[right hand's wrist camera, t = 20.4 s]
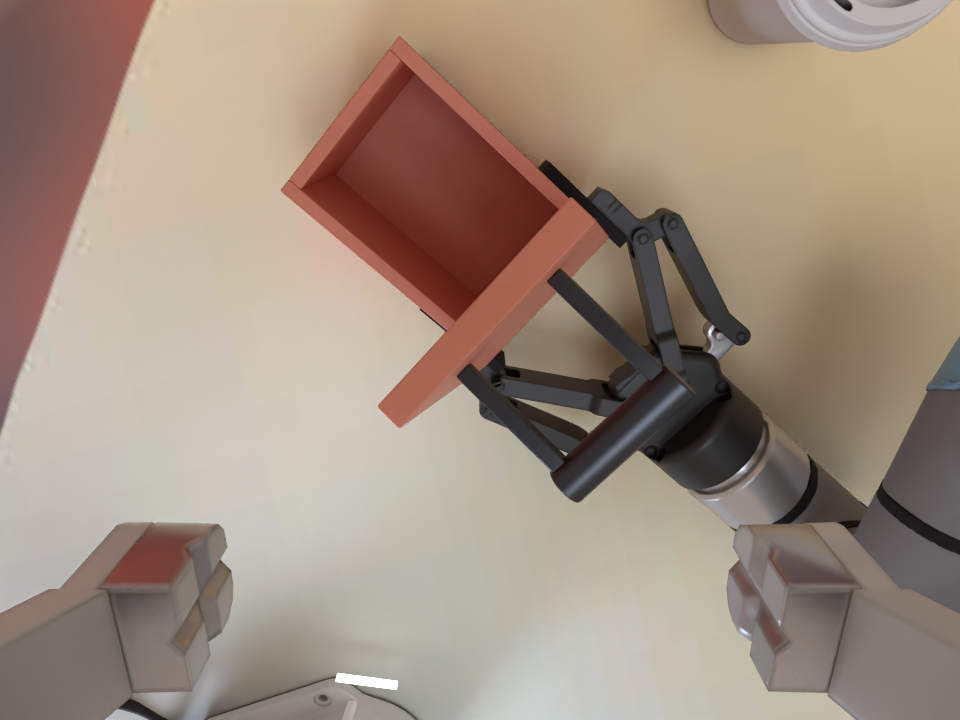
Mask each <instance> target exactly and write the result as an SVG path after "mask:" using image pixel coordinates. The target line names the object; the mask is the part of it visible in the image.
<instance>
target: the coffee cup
mask: <svg viewBox="0 0 960 720" xmlns="http://www.w3.org/2000/svg"><path fill="white" fill-rule="evenodd" d="M951 1H952V0H708V4H709V9H710V13H711V16H712V18H713V20H714V22H715V24H716V25H717V27H718V28H719V29H720V30H721V31H722V32H723V33H724V34H725V35H726V36H727V37H729V38H731V39H732V40H734V41H737V42H740V43H744V44H774V43H801V42H816V43H818V44H820V45H822V46H825V47H828V48H831V49H835V50H840V51H851V52H856V51H868V50H874V49H878V48H882V47H885V46H888V45H891V44H893V43H896V42H898V41H900V40H902V39H904V38H906V37H908V36H909V35H911V34H913V33H914V32H916V31H917V30H919V29H920V28H922V27H923V26H925V25H926V24H927V23H929V22H930V21H931V20H933V19H934V18H935V17H936V16H937V15H939V14H940V13H941V12H942V11H943V10H944V9H945V8H946V7H947V6H948V5H949V4H950V2H951Z"/></svg>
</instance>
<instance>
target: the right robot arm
mask: <svg viewBox="0 0 960 720" xmlns="http://www.w3.org/2000/svg"><path fill="white" fill-rule="evenodd" d="M226 548H227V543H226V538H225V533H224V529H223V528H222V527H221V526H220V525H219V524H198V523H152V522H142V523H123V524H119V525H117V526H116V527H115V528H114V529H113V530H112V531H111V532H110V533H109V535H108V536H107V537H106V538H105V539H104V540H103V541H102V542H101V543H100V545H99V546H98V547H97V548H96V549H95V550H94V551H93V552H92V553H91V555H90V556H89V557H88V558H87V559H86V560H85V561H84V562H83V563H82V565H81V566H80V567H79V568H78V569H77V570H76V571H75V572H74V573H73V575H72V576H71V577H70V578H69V579H68V580H67V581H66V582H65V584H64V585H63V586H62V587H61V588H60V589H49V590H47V591H45V592H43V593H41V594H39V595H37V596H35V597H33V598H31V599H29V600H27V601H25V602H23V603H21V604H18V605H16V606H14V607H12V608H10V609H8V610H6V611H4V612H2V613H0V720H105V719H106V718H107V717H108V716H109V715H111V714H112V713H113V712H114V711H115V710H116V709H121V710H125V711H128V712H132V713H135V714H137V715H140V716H142V717H144V718H147V719H148V720H167V719H165V718H163V717H161V716H160V715H158V714H156V713H155V712H153V711H151V710H150V709H148V708H146V707H145V706H143V705H141V704H140V703H138V702H135V701H132V700H129V699H130V698H131V697H132V693H145V692H180V691H192V690H193V688H194V686H195V684H196V682H197V680H198V678H199V676H200V674H201V672H202V671H203V669H204V667H205V665H206V663H207V661H208V659H209V657H210V650H209V645H208V642H209V641H210V640H212V639H213V638H215V637H216V636H217V635H219V634H220V633H222V631H223V629H224V627H225V624H226V622H227V620H228V618H229V614H230V609H231V605H232V600H233V580H232V573H231V570H230V569H229V568H228V567H227V566H226V565H225V564H224V563H223V562H222V561H221V560H220V559H221V557H222V555H223V554H224V552H225V550H226ZM733 548H734V550H735V552H736V554H737V555H738V557H739V559H740V560H739V561H738V562H737V563H736V564H735V565H734V566H733V567H732V568H731V569H730V570H729V574H728V582H727V597H728V607H729V610H730V614H731V617H732V620H733V622H734V624H735V627H736V629H737V631H738V633H740V634H741V635H743V636H744V637H745V638H747V639H748V640H750V641H751V642H752V645H751V650H750V657H751V659H752V661H753V663H754V665H755V667H756V669H757V670H758V672H759V674H760V676H761V678H762V680H763V682H764V684H765V686H766V688H767V690H768V691H779V692H814V693H828V695H827V696H828V697H830V698H831V699H832V700H833V701H834V702H835V703H837V704H838V705H839V706H840V707H841V708H843V709H844V710H845V711H846V712H847V713H849V714H850V715H851V716H852V717H853V718H855V719H856V720H960V614H959V613H957V612H955V611H953V610H951V609H949V608H947V607H945V606H943V605H941V604H939V603H937V602H935V601H933V600H931V599H929V598H927V597H925V596H923V595H921V594H919V593H917V592H915V591H913V590H911V589H900V588H899V587H898V586H897V585H896V584H895V582H894V581H893V580H892V579H891V578H890V577H889V576H888V575H887V574H886V572H885V571H884V570H883V569H882V568H881V567H880V566H879V565H878V563H877V562H876V561H875V560H874V559H873V558H872V557H871V556H870V555H869V553H868V552H867V551H866V550H865V549H864V548H863V547H862V546H861V545H860V543H859V542H858V541H857V540H856V539H855V538H854V537H853V536H852V535H851V533H850V532H849V531H848V530H847V529H846V528H845V527H844V526H843V525H841V524H839V523H836V522H822V523H803V524H757V525H739V526H738V529H737V531H736V533H735V537H734V543H733ZM351 684H357V685H364V686H372V687H379V688H387V689H395V690H397V684H398V681H394V680H386V679H379V678H371V677H363V676H356V675H348V674H341V673H337V677H336V678H331V679H327V680H324V681H321V682H318V683H315V684H312V685H309V686H306V687H303V688H300V689H297V690H294V691H291V692H288V693H284V694H281V695H278V696H275V697H272V698H269V699H266V700H263V701H260V702H257V703H254V704H251V705H248V706H245V707H242V708H239V709H236V710H233V711H229V712H226V713H223V714H220V715H217V716H214V717H211V718H209V719H207V720H415V719H414V718H413V717H412V716H411V715H410V714H408V713H407V712H405V711H404V710H402V709H401V708H399V707H397V706H395V705H393V704H391V703H389V702H386V701H383V700H380V699H377V698H374V697H370V696H368V695H365V694H363V693H361V692H360V691H359V690H357V689H356V688H355V687H353V686H352V685H351Z"/></svg>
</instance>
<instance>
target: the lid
mask: <svg viewBox="0 0 960 720" xmlns="http://www.w3.org/2000/svg"><path fill="white" fill-rule="evenodd" d="M608 238H609V236H608V235H607V234H606V233H605V231H604V230H603V229H602V227H601V226H600V225H599V224H598V222H597V221H596V220H595V219H594V218H593V217H592V216H591V215H590V214H589V213H588V212H587V211H586V210H585V209H584V208H583V207H582V206H581V205H579V204H578V203H577V202H576V201H575V200H574V199H573V198H569V199H568V200H567V201H566V202H565V203H564V204H563V205H562V207H561V208H560V209H559V210H558V211H557V212H556V213H555V214H554V215H553V216H552V217H551V219H550V220H549V221H548V222H547V223H546V224H545V225H544V226H543V227H542V228H541V229H540V230H539V232H538V233H537V234H536V235H535V236H534V237H533V238H532V239H531V240H530V241H529V242H528V243H527V245H526V246H525V247H524V248H523V249H522V250H521V251H520V252H519V253H518V254H517V255H516V256H515V258H514V259H513V260H512V261H511V262H510V263H509V264H508V265H507V266H506V267H505V268H504V269H503V271H502V272H501V273H500V274H499V275H498V276H497V277H496V278H495V279H494V280H493V281H492V283H491V284H490V285H489V286H488V287H487V288H486V289H485V290H484V291H483V292H482V293H481V294H480V296H479V297H478V298H477V299H476V300H475V301H474V302H473V303H472V304H471V305H470V306H469V307H468V309H467V310H466V311H465V312H464V313H463V314H462V315H461V316H460V317H459V318H458V319H457V320H456V322H455V323H454V324H453V325H452V326H451V327H450V328H449V329H448V330H447V331H446V332H445V333H444V335H443V336H442V337H441V338H440V339H439V340H438V341H437V342H436V343H435V344H434V345H433V346H432V348H431V349H430V350H429V351H428V352H427V353H426V354H425V355H424V356H423V357H422V358H421V360H420V361H419V362H418V363H417V364H416V365H415V366H414V367H413V368H412V369H411V370H410V371H409V373H408V374H407V375H406V376H405V377H404V378H403V379H402V380H401V381H400V382H399V383H398V384H397V386H396V387H395V388H394V389H393V390H392V391H391V392H390V393H389V394H388V395H387V396H386V397H385V399H384V400H383V401H382V402H381V403H380V404H379V405H378V408H379V409H380V410H381V411H382V412H383V413H384V414H385V415H386V416H387V417H388V418H389V419H390V420H391V421H392V422H393V423H394V424H395V425H396V426H397V427H398V428H401V427H403V426H404V425H405V424H407V423H408V422H409V421H411V420H412V419H414V418H415V417H416V416H418V415H419V414H420V413H422V412H423V411H425V410H426V409H427V408H429V407H430V406H431V405H433V404H434V403H436V402H437V401H438V400H440V399H441V398H442V397H444V396H445V395H447V394H448V393H449V392H451V391H452V390H453V389H455V388H456V387H458V386H459V385H460V384H462V383H463V384H464V385H465V386H466V387H467V388H468V389H469V390H470V391H471V392H472V393H473V394H474V395H475V396H476V397H477V398H478V399H479V400H480V401H481V402H482V403H483V404H484V405H485V406H486V407H487V408H488V409H489V410H490V411H491V412H492V413H493V414H494V415H495V416H496V417H497V418H498V419H499V420H500V421H501V422H502V423H503V424H504V425H505V426H506V427H507V428H508V429H509V430H510V431H511V432H512V433H513V434H514V435H515V436H516V437H517V438H518V439H519V440H520V441H521V442H522V443H523V444H524V445H525V446H526V447H527V448H528V449H529V450H530V451H531V452H532V453H533V454H534V455H535V456H536V457H537V458H538V459H539V460H540V461H541V462H542V463H543V464H544V465H545V466H546V467H547V468H548V469H550V470H551V471H550V475H551V478H552V480H553V482H554V483H555V485H556V486H557V487H558V489H559V490H560V491H561V492H562V493H563V494H564V495H565V496H566V497H568V498H569V499H570V500H572V501H574V502H577V503H578V502H581V501H582V500H583V499H584V498H585V497H586V496H587V495H588V494H590V493H591V492H592V491H593V490H594V489H595V488H596V487H597V486H598V485H599V484H601V483H602V482H603V481H604V480H605V479H606V478H607V477H608V476H609V475H610V474H612V473H613V472H614V471H615V470H616V469H617V468H618V467H619V466H620V465H621V464H623V463H624V462H625V461H626V460H627V459H628V458H629V457H630V456H631V455H632V454H634V453H635V452H636V451H637V450H638V449H639V448H640V447H641V446H642V445H643V444H645V443H646V442H647V441H648V440H649V439H650V438H651V437H652V436H653V435H654V434H656V433H657V432H658V431H659V430H660V429H661V428H662V427H663V426H664V425H665V424H667V423H668V422H669V421H670V420H671V419H672V418H673V417H674V416H675V415H676V414H678V413H679V412H680V411H681V410H682V409H683V408H684V407H685V406H686V405H687V404H689V403H690V402H691V401H692V400H693V399H694V398H695V397H696V393H695V392H694V390H693V389H692V388H691V387H690V386H689V385H688V384H687V383H686V382H685V381H684V380H683V379H682V378H681V377H680V376H679V375H678V374H677V373H676V372H675V371H674V370H673V369H672V368H671V367H669V366H668V365H666V364H663V365H661V364H660V363H659V362H658V361H657V360H656V359H655V358H654V357H653V356H652V355H650V354H649V353H648V352H647V351H646V350H645V349H644V348H643V347H642V346H641V345H640V344H639V343H638V342H637V341H636V340H635V339H634V338H633V337H632V336H631V335H630V334H629V333H628V332H627V331H626V330H625V329H624V328H623V327H621V326H620V325H619V324H618V323H617V322H616V321H615V320H614V319H613V318H612V317H611V316H610V315H609V314H608V313H607V312H606V311H605V310H604V309H603V308H602V307H601V306H600V305H599V304H598V303H597V302H596V301H595V300H593V299H592V298H591V297H590V296H589V295H588V294H587V293H586V292H585V291H584V290H583V289H582V288H581V287H580V286H579V285H578V284H577V283H576V282H575V281H574V280H573V279H572V278H571V277H572V276H573V275H574V274H575V273H576V272H577V271H578V270H579V269H580V268H581V266H582V265H583V264H584V263H585V262H586V261H587V260H588V259H589V258H590V257H591V256H592V255H593V254H594V253H595V252H596V251H597V250H598V249H599V248H600V247H601V246H602V245H603V244H604V243H605V242H606V240H607V239H608ZM556 292H558V293H559V294H560V295H561V296H562V297H563V298H564V299H565V300H566V301H567V302H568V303H569V304H570V305H571V306H572V307H573V308H574V309H575V310H576V311H577V312H578V313H579V314H580V315H581V316H582V317H583V318H584V319H585V320H586V321H587V322H588V323H590V324H591V325H592V326H593V327H594V328H595V329H596V330H597V331H598V332H599V333H600V334H601V335H602V336H603V337H604V338H605V339H606V340H607V341H608V342H609V343H610V344H611V345H612V346H613V347H614V348H615V349H616V350H617V351H618V352H619V353H621V354H622V355H623V356H624V357H625V358H626V359H627V360H628V361H629V362H630V363H631V364H632V365H633V366H634V367H635V368H636V369H637V370H638V371H639V372H640V373H641V374H642V375H643V376H644V377H645V378H646V379H647V380H646V381H645V382H644V383H643V384H642V385H641V386H640V387H639V388H637V389H636V390H635V391H634V392H633V393H632V394H631V395H630V396H629V397H628V398H627V399H626V400H625V401H624V402H623V403H622V404H620V405H619V406H618V407H617V408H616V409H615V410H614V411H613V412H612V413H611V414H610V415H609V416H608V417H607V418H606V419H605V420H603V421H602V422H601V423H600V424H599V425H598V426H597V427H596V428H595V429H594V430H593V431H592V432H591V433H590V434H589V435H588V436H587V437H585V438H584V439H583V440H582V441H581V442H580V443H579V444H578V445H577V446H576V447H575V448H574V449H573V450H572V451H571V452H570V453H568V454H567V455H566V456H565V455H564V454H563V453H562V452H561V451H560V450H559V449H558V448H557V447H556V446H555V445H554V444H553V443H552V442H551V441H550V440H549V439H548V438H547V437H546V436H545V435H544V434H542V433H541V432H540V431H539V430H538V429H537V428H536V427H535V426H534V425H533V424H532V423H531V422H530V421H529V420H528V419H527V418H526V417H525V416H524V415H523V414H522V413H521V412H520V411H519V410H518V409H517V408H516V407H515V406H514V405H513V404H512V403H511V402H510V401H509V400H508V399H507V398H506V397H505V396H504V395H503V394H502V393H501V392H500V391H499V390H498V389H497V388H496V387H495V386H494V385H493V384H492V383H491V382H490V381H489V380H488V379H487V378H486V377H485V376H484V375H483V374H482V373H481V372H480V370H481V369H482V368H484V367H485V366H486V365H487V364H488V363H489V362H490V361H491V360H492V359H493V358H494V357H495V356H496V355H497V354H498V353H499V352H500V351H501V350H502V349H503V348H504V346H505V345H506V344H507V343H508V342H509V341H510V340H511V339H512V338H513V337H514V336H515V335H516V334H517V333H518V332H519V331H520V330H521V329H522V328H523V327H524V326H525V325H526V324H527V323H528V322H529V321H530V319H531V318H532V317H533V316H534V315H535V314H536V313H537V312H538V311H539V310H540V309H541V308H542V307H543V306H544V305H545V304H546V303H547V302H548V301H549V300H550V299H551V298H552V297H553V296H554V295H555V293H556Z"/></svg>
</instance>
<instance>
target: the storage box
mask: <svg viewBox="0 0 960 720" xmlns="http://www.w3.org/2000/svg"><path fill="white" fill-rule="evenodd" d="M281 192H282V193H284V194H285V195H286V196H287V197H288V198H290V199H291V200H292V201H293V202H294V203H296V204H297V205H298V206H299V207H300V208H301V209H303V210H304V211H305V212H306V213H307V214H309V215H310V216H311V217H312V218H313V219H315V220H316V221H317V222H318V223H319V224H321V225H322V226H323V227H324V228H325V229H327V230H328V231H329V232H330V233H331V234H333V235H334V236H335V237H336V238H337V239H339V240H340V241H341V242H342V243H343V244H345V245H346V246H347V247H348V248H349V249H350V250H352V251H353V252H354V253H355V254H356V255H358V256H359V257H360V258H361V259H362V260H364V261H365V262H366V263H367V264H368V265H370V266H371V267H372V268H373V269H374V270H376V271H377V272H378V273H379V274H380V275H382V276H383V277H384V278H385V279H386V280H388V281H389V282H390V283H391V284H392V285H393V286H395V287H396V288H397V289H398V290H399V291H401V292H402V293H403V294H404V295H405V296H407V297H408V298H409V299H410V300H411V301H413V302H414V303H415V304H416V305H417V306H419V307H420V308H421V309H422V310H423V311H425V312H426V313H427V314H428V315H429V316H431V317H432V318H433V319H434V320H435V321H437V322H438V323H439V324H440V325H441V326H442V327H444V328H445V329H446V330H448V329H449V328H450V327H451V326H452V325H453V324H454V323H455V322H456V320H457V319H458V318H459V317H460V316H461V315H462V314H463V313H464V312H465V311H466V310H467V309H468V307H469V306H470V305H471V304H472V303H473V302H474V301H475V300H476V299H477V298H478V297H479V296H480V294H481V293H482V292H483V291H484V290H485V289H486V288H487V287H488V286H489V285H490V284H491V283H492V281H493V280H494V279H495V278H496V277H497V276H498V275H499V274H500V273H501V272H502V271H503V269H504V268H505V267H506V266H507V265H508V264H509V263H510V262H511V261H512V260H513V259H514V258H515V256H516V255H517V254H518V253H519V252H520V251H521V250H522V249H523V248H524V247H525V246H526V245H527V243H528V242H529V241H530V240H531V239H532V238H533V237H534V236H535V235H536V234H537V233H538V232H539V230H540V229H541V228H542V227H543V226H544V225H545V224H546V223H547V222H548V221H549V220H550V219H551V217H552V216H553V215H554V214H555V213H556V212H557V211H558V210H559V209H560V208H561V207H562V205H563V204H564V203H565V202H566V201H567V200H568V199H569V198H568V197H567V196H566V195H565V194H564V193H563V192H562V191H561V190H560V189H559V188H557V187H556V186H555V185H554V184H553V183H552V182H551V181H550V180H549V179H548V178H547V177H546V176H545V175H544V174H543V173H542V172H541V171H540V170H539V169H538V168H537V167H536V166H535V165H533V164H532V163H531V162H530V161H529V160H528V159H527V158H526V157H525V156H524V155H523V154H522V153H521V152H520V151H519V150H518V149H517V148H516V147H515V146H514V145H513V144H512V143H511V142H509V141H508V140H507V139H506V138H505V137H504V136H503V135H502V134H501V133H500V132H499V131H498V130H497V129H496V128H495V127H494V126H493V125H492V124H491V123H490V122H489V121H488V120H487V119H486V118H484V117H483V116H482V115H481V114H480V113H479V112H478V111H477V110H476V109H475V108H474V107H473V106H472V105H471V104H470V103H469V102H468V101H467V100H466V99H465V98H464V97H463V96H462V95H460V94H459V93H458V92H457V91H456V90H455V89H454V88H453V87H452V86H451V85H450V84H449V83H448V82H447V81H446V80H445V79H444V78H443V77H442V76H441V75H440V74H439V73H438V72H437V71H435V70H434V69H433V68H432V67H431V66H430V65H429V64H428V63H427V62H426V61H425V60H424V59H423V58H422V57H421V56H420V55H419V54H418V53H417V52H416V51H415V50H414V49H413V48H411V47H410V46H409V45H408V44H407V43H406V42H405V41H404V40H403V39H402V38H401V37H400V36H399V37H398V38H397V40H396V41H395V42H394V44H393V45H392V46H391V48H390V50H388V52H387V53H386V54H385V56H384V57H383V58H382V59H381V61H380V62H379V63H378V65H377V66H376V67H375V68H374V70H373V71H372V72H371V74H370V75H369V76H368V78H367V79H366V80H365V81H364V83H363V84H362V85H361V87H360V88H359V89H358V91H357V92H356V93H355V94H354V96H353V97H352V98H351V100H350V101H349V102H348V104H347V105H346V106H345V107H344V109H343V110H342V111H341V113H340V114H339V115H338V117H337V118H336V119H335V120H334V122H333V123H332V124H331V126H330V127H329V128H328V130H327V131H326V132H325V133H324V135H323V136H322V137H321V139H320V140H319V141H318V143H317V144H316V145H315V146H314V148H313V149H312V150H311V152H310V153H309V154H308V156H307V157H306V158H305V159H304V161H303V162H302V163H301V165H300V166H299V167H298V169H297V170H296V171H295V172H294V174H293V175H292V176H291V178H290V180H288V181H287V183H286V184H285V185H284V187H283V188H282V189H281Z"/></svg>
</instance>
